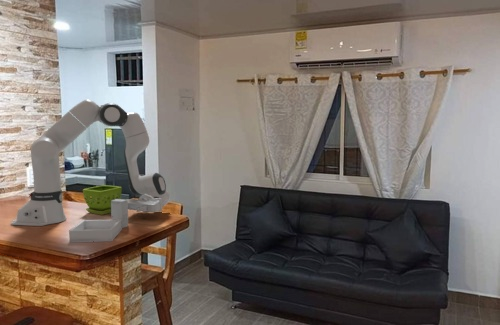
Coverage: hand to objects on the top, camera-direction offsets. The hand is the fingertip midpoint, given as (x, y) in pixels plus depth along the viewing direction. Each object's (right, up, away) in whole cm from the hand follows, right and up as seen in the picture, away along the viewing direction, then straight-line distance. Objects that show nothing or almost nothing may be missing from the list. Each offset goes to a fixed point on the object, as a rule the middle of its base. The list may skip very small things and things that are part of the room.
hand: (129, 209), depth 182 cm
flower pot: (-19, -4, +21) cm, 29 cm away
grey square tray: (-7, -9, -19) cm, 22 cm away
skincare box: (-2, -7, -6) cm, 10 cm away
